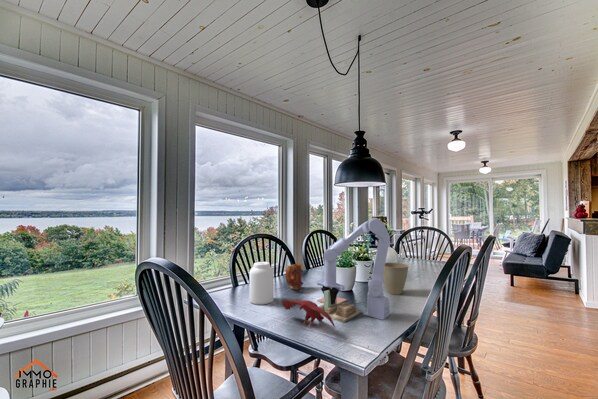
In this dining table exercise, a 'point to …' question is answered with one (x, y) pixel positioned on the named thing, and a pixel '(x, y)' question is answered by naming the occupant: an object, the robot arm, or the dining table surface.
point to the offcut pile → (345, 310)
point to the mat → (339, 300)
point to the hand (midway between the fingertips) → (330, 303)
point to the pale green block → (328, 300)
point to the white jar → (261, 283)
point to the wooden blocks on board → (332, 313)
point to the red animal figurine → (308, 310)
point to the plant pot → (395, 277)
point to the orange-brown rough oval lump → (294, 276)
